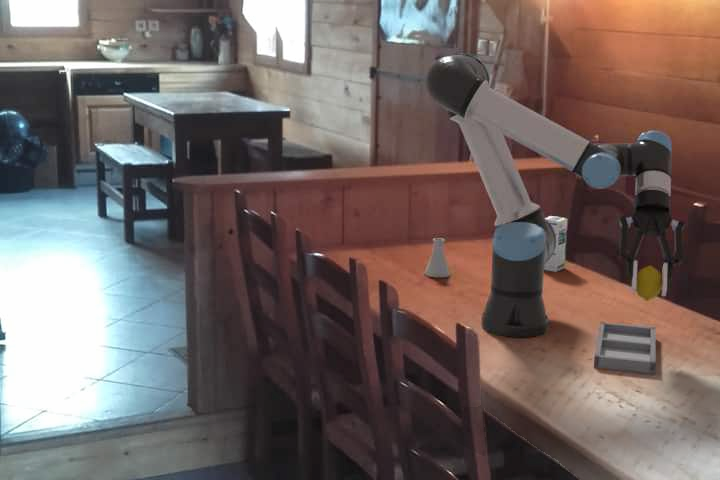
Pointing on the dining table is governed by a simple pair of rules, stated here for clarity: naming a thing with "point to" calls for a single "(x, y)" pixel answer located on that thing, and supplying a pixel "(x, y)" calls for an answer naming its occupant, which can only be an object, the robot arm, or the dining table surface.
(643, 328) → the grey divided tray
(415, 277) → the dining table surface
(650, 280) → the lemon
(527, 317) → the robot arm
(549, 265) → the syrup box
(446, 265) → the flask
